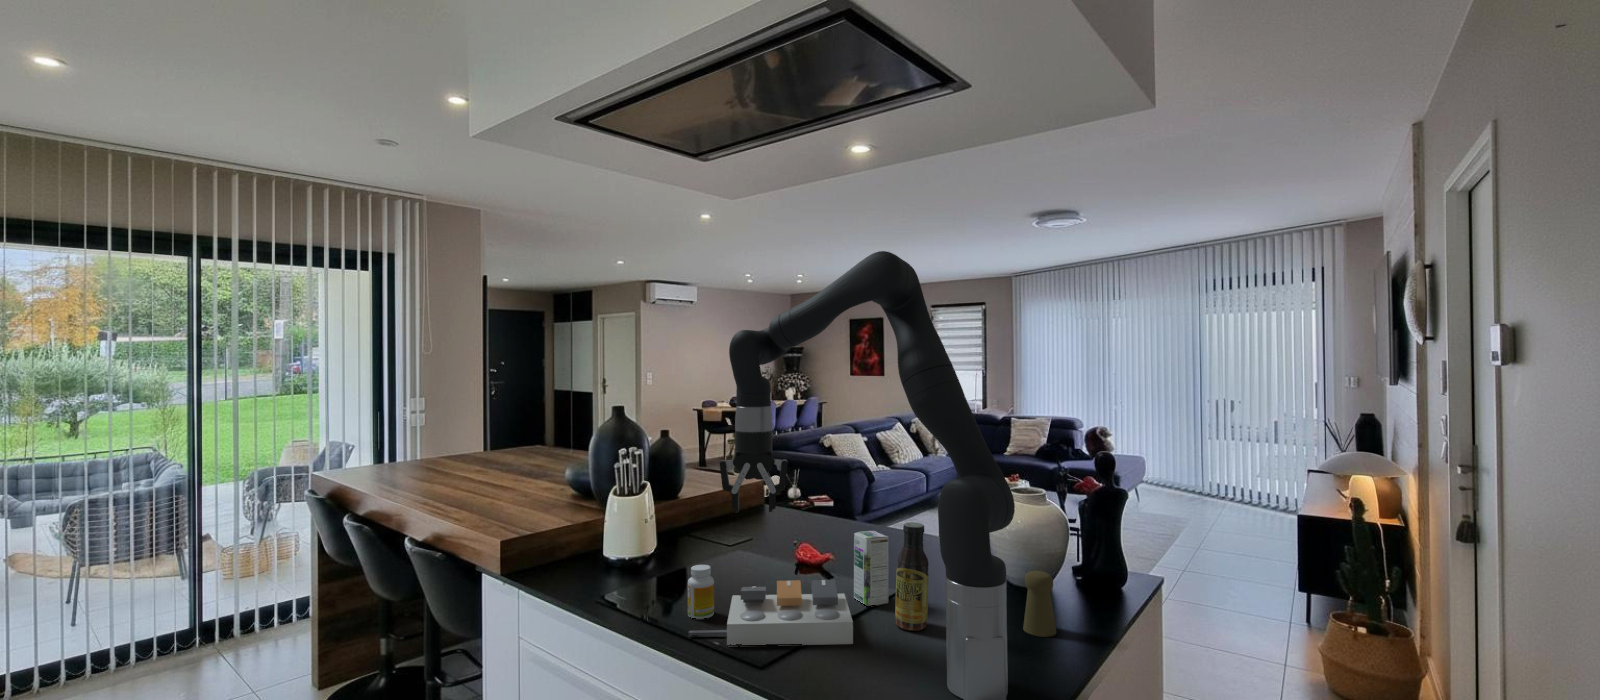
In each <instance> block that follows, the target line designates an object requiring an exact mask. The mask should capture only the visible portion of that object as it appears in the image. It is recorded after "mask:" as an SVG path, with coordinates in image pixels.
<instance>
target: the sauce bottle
mask: <svg viewBox="0 0 1600 700" xmlns="http://www.w3.org/2000/svg"><path fill="white" fill-rule="evenodd" d="M902 531H903V544H902V545H903V546H902V548H901V550H900V552H899V554H898V557H897V563H896V564H897V565H896V579H895V582H896V583H895V610H894V611H895V612H894V614H895V615H894V616H895V624H896V626H897V627H899V628H900V629H901V630H905V631H912V632H913V631H915V632H920V631H922V630H924V629H925V628H927V623H928V618H929V617H928V616H929V615H928V613H929V609H928V608H929V579H930V577H929V576H930V575H929V559H928V557H927V555H926V553H925V551H924V533H925V525H924V524H923V523H921V522H914V521H913V522H912V521H909V522H904V523H903V527H902Z"/></svg>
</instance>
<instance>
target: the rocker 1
mask: <svg viewBox="0 0 1600 700" xmlns="http://www.w3.org/2000/svg"><path fill="white" fill-rule="evenodd" d="M740 595H741V600H743V603H761V602H764V599H766V595H767V586H756V585H755V586H753V585H752V586H742V587H741V589H740Z"/></svg>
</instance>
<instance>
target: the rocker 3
mask: <svg viewBox="0 0 1600 700" xmlns="http://www.w3.org/2000/svg"><path fill="white" fill-rule="evenodd" d="M810 583H811V585H810V588H811V594H812V599H813V605H838V595H837V594H838V589H837V583H836V579H812V580H811V581H810Z"/></svg>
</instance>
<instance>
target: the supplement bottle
mask: <svg viewBox="0 0 1600 700" xmlns="http://www.w3.org/2000/svg"><path fill="white" fill-rule="evenodd" d="M711 569H712V568H711V566H710V565H708V564H696V565H693V566H692V567H691V568H690V574H691V577H690V578H688V580H687V616H688V617H689V618H690V617H691V618H690V619H692V618H696V619H695V620H705V619H704V618H707V619H709V618H711V617H713V616H714V614H715V579H714V578H713V577H712V576H711V573H712V571H711Z"/></svg>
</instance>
